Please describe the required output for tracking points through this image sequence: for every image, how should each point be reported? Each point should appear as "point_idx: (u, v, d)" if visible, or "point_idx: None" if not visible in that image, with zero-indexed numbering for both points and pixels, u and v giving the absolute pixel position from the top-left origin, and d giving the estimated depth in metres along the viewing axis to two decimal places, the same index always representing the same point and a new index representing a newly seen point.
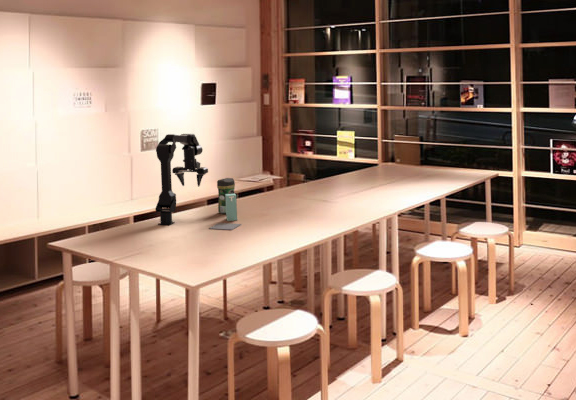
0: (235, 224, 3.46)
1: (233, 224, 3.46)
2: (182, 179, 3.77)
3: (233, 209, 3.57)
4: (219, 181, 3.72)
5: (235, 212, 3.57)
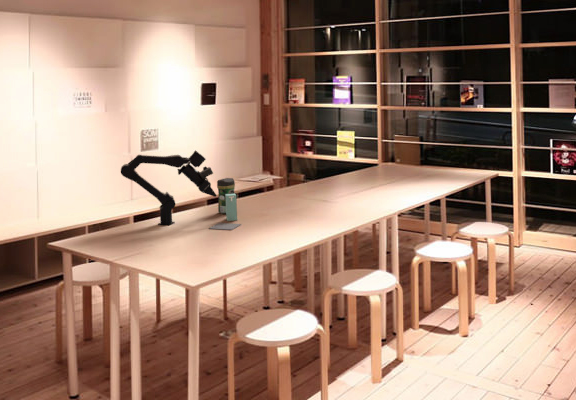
0: (235, 224, 3.46)
1: (233, 224, 3.46)
2: None
3: (233, 209, 3.57)
4: (219, 181, 3.72)
5: (235, 212, 3.57)
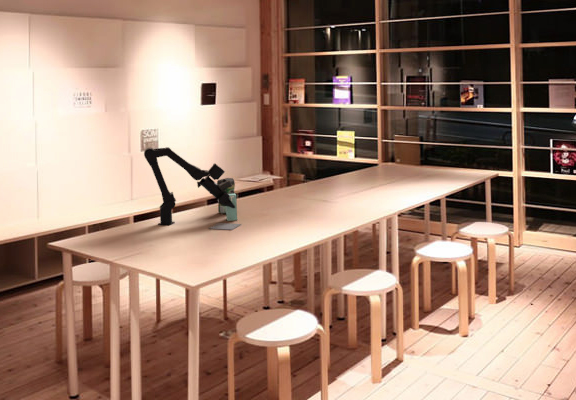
0: (235, 224, 3.46)
1: (233, 224, 3.46)
2: None
3: (233, 209, 3.57)
4: (219, 181, 3.72)
5: (235, 212, 3.57)
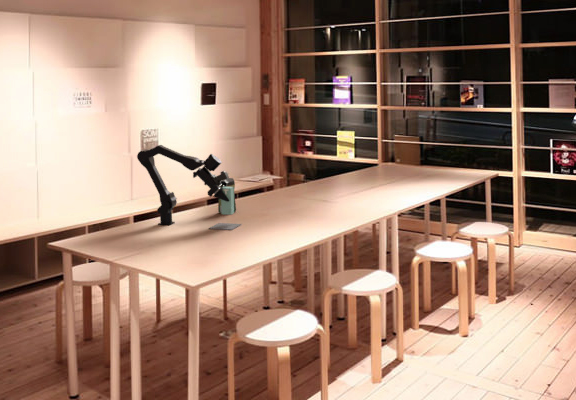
0: (235, 224, 3.46)
1: (233, 224, 3.46)
2: None
3: (227, 203, 3.43)
4: None
5: (229, 206, 3.43)
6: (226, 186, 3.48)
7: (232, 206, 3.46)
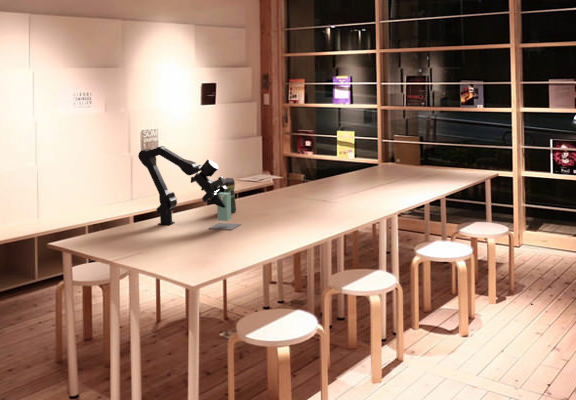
0: (235, 224, 3.46)
1: (233, 224, 3.46)
2: None
3: (223, 209, 3.39)
4: None
5: (225, 212, 3.39)
6: (224, 192, 3.44)
7: (229, 212, 3.41)
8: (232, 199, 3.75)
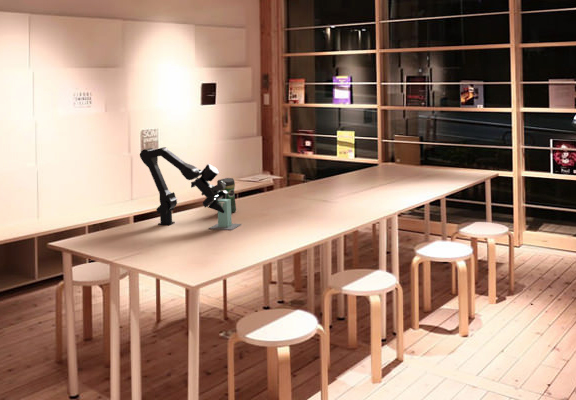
0: (235, 224, 3.46)
1: (233, 224, 3.46)
2: None
3: (224, 215, 3.40)
4: (219, 181, 3.72)
5: (225, 219, 3.40)
6: (225, 196, 3.46)
7: (229, 219, 3.42)
8: (232, 199, 3.75)
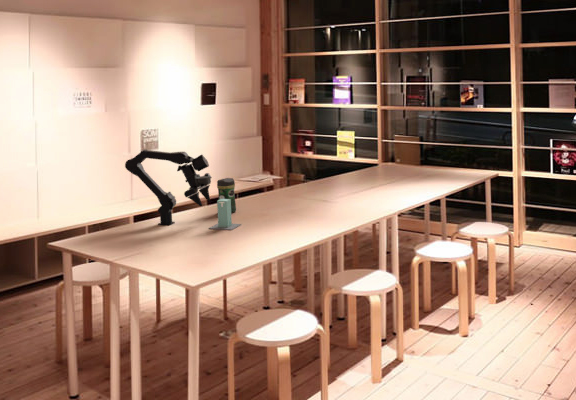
0: (235, 224, 3.46)
1: (233, 224, 3.46)
2: (205, 194, 3.54)
3: (224, 215, 3.40)
4: (219, 181, 3.72)
5: (225, 219, 3.40)
6: (208, 187, 3.53)
7: (229, 219, 3.42)
8: (232, 199, 3.75)
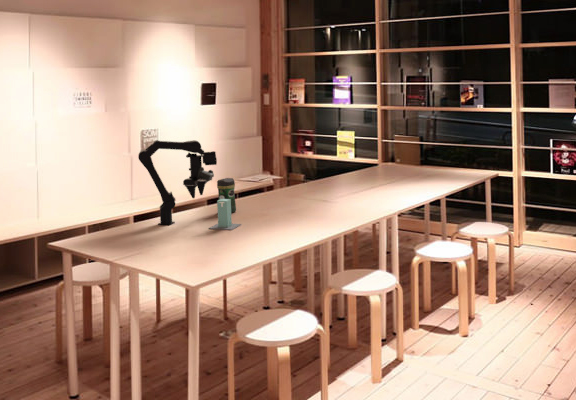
0: (235, 224, 3.46)
1: (233, 224, 3.46)
2: (200, 187, 3.58)
3: (224, 215, 3.40)
4: (219, 181, 3.72)
5: (225, 219, 3.40)
6: (206, 182, 3.57)
7: (229, 219, 3.42)
8: (232, 199, 3.75)
